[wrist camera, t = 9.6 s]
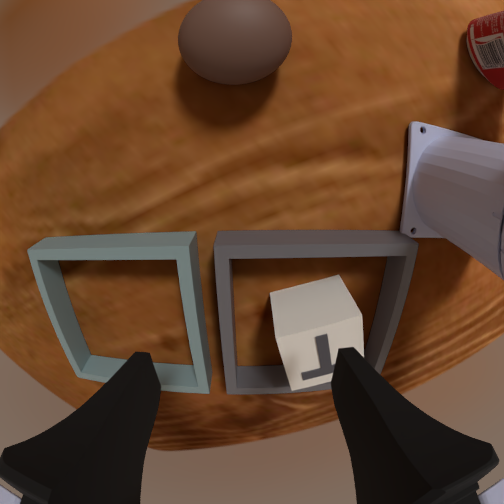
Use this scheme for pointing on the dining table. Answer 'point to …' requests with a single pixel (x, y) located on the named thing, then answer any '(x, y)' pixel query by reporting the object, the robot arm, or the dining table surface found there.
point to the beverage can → (488, 47)
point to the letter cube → (315, 329)
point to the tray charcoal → (310, 246)
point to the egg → (234, 40)
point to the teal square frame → (125, 248)
